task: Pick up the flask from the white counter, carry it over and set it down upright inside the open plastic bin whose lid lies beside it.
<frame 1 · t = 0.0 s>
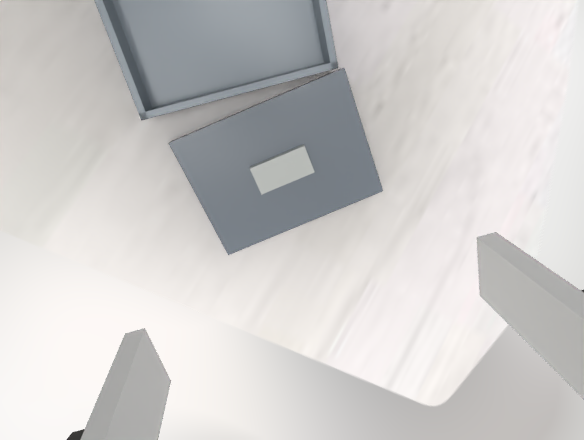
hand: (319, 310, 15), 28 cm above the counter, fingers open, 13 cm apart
bin lid: (281, 166, 42), on the counter
bin: (219, 17, 36), on the counter
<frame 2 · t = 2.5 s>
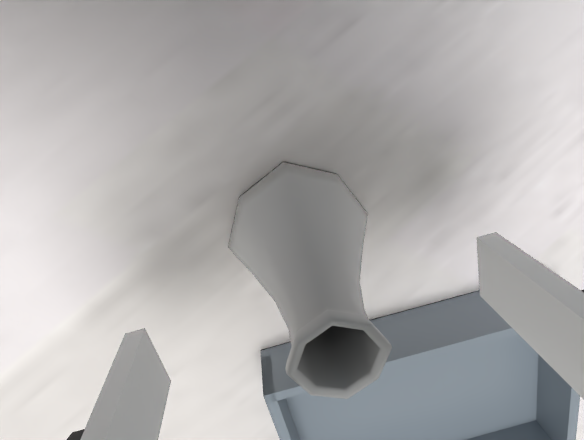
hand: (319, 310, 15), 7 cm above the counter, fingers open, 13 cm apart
flask: (296, 226, 21), on the counter
bin: (413, 386, 27), on the counter
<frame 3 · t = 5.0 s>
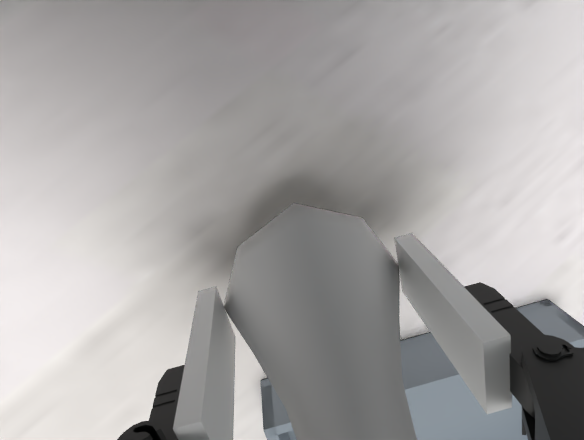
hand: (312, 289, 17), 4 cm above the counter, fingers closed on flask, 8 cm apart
flask: (309, 279, 17), point 4 cm above the counter, touching gripper
bin: (418, 416, 26), on the counter
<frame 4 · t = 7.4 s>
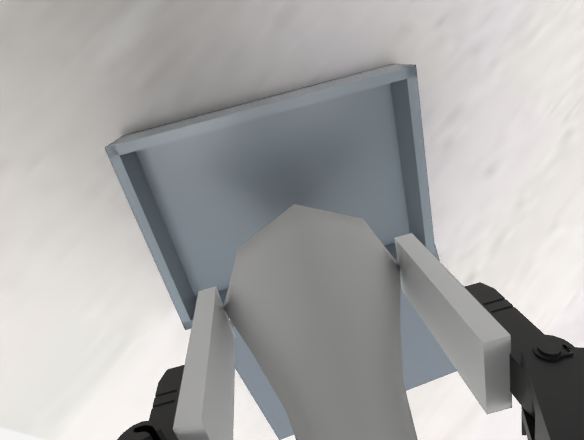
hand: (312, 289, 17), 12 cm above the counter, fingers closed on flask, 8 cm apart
bin lid: (347, 344, 34), on the counter
flask: (310, 280, 17), point 12 cm above the counter, touching gripper
bin: (283, 193, 28), on the counter
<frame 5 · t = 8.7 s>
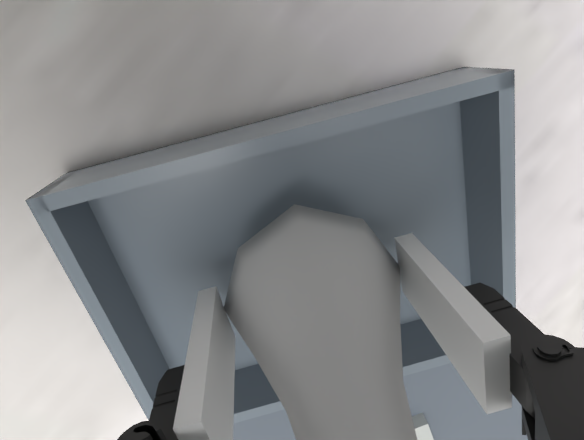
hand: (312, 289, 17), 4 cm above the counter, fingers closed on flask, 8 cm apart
bin lid: (380, 433, 26), on the counter
flask: (310, 280, 17), point 3 cm above the counter, touching gripper
bin: (300, 247, 20), on the counter
when the fingers open (2 cm above the counter, at t = 9.9 s): flask drops 1 cm, resting on bin.
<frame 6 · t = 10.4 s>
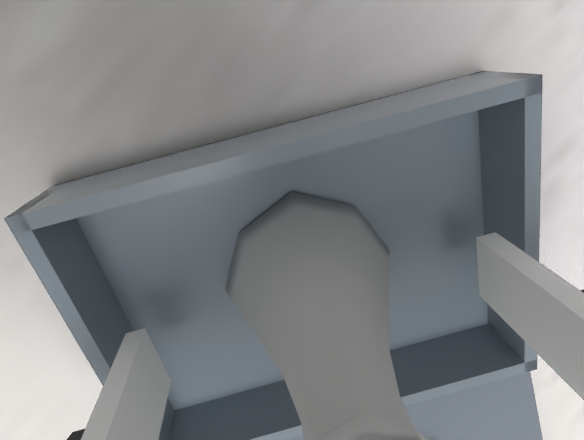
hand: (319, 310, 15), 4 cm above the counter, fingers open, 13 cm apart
flask: (306, 265, 18), resting on bin
bin: (304, 264, 19), on the counter
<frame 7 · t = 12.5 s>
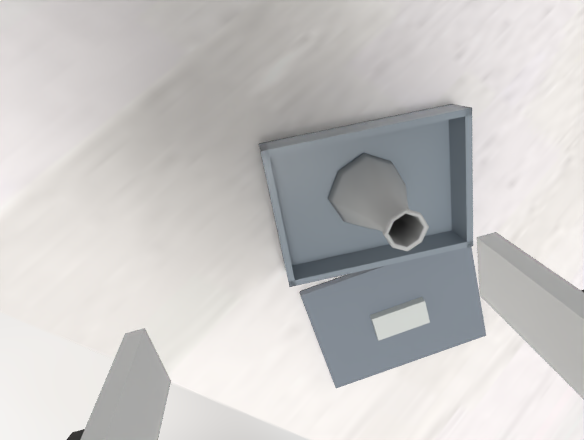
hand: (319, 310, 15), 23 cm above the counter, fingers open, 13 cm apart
bin lid: (396, 312, 44), on the counter
flask: (365, 190, 38), resting on bin
bin: (364, 191, 38), on the counter
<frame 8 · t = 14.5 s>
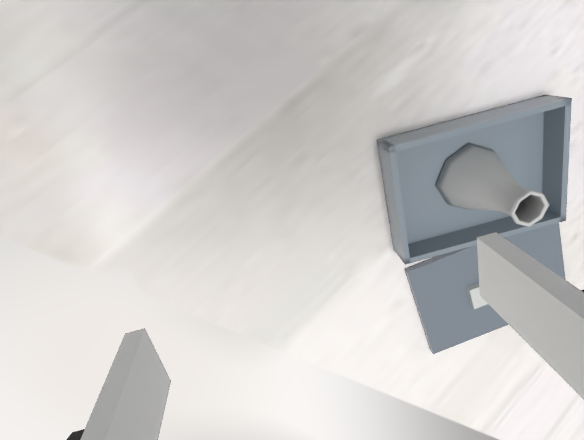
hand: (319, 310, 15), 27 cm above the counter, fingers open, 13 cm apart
bin lid: (487, 284, 49), on the counter
flask: (467, 176, 43), resting on bin
bin: (465, 176, 43), on the counter
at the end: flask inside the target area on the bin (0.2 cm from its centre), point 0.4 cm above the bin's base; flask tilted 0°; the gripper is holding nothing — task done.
